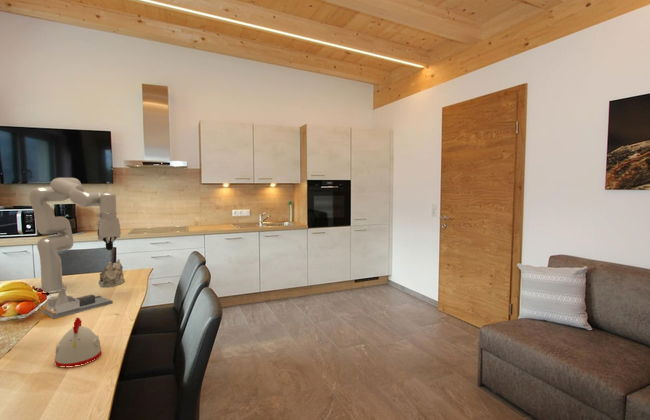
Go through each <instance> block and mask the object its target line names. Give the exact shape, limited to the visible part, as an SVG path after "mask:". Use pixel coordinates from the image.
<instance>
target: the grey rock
mask: <svg viewBox="0 0 650 420" xmlns="http://www.w3.org/2000/svg"><path fill="white" fill-rule="evenodd" d="M120 260H121V259H119V258H118V259H117V260H116V261H115V262H113V263H112V262H111V261H109V262H108V263H107V264H108V265H107V266H105V267H104V269H103V270H102V271H101V272H100V273H99V280H98V285H99V287H100V288H109V289H110V288H114V287H118V286H121V285H122V284H124V283H125V282H126V281H125V278H124V272H123V268H124V267H123V266H122V263H121V261H120Z"/></svg>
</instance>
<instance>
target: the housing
mask: <svg viewBox="0 0 650 420" xmlns="http://www.w3.org/2000/svg"><path fill="white" fill-rule="evenodd" d="M66 296H67V298H68V300H69V302H67V303H63V304H59V305H56V314H60V313H64V312H68V311H72V310H76V309H79V308H80V306H82V305H86V304H90V303H94V302H95V297H96V294H92V293H91V294H88V295H83V296H80V297H79V296H78V297H74V296H72V295H66ZM57 299H58V297H56V298H52V299H48V300H46V302H47V308H49V309H52V308H54V307H55V304H56V302H57Z"/></svg>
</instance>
